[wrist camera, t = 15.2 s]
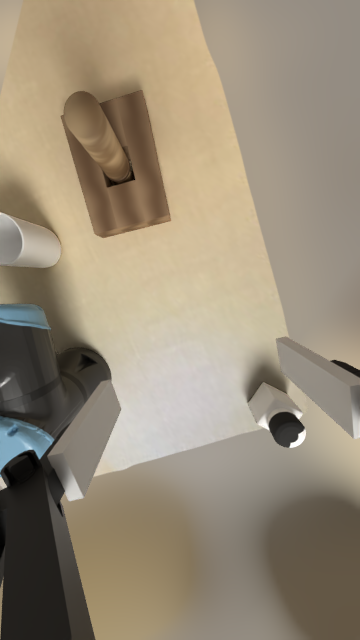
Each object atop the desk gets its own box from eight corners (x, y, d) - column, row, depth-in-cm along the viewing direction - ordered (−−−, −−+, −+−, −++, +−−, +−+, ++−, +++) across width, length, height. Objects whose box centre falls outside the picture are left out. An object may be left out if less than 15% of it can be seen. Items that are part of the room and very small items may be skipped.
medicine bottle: (247, 403, 50) (264, 442, 38) (262, 380, 48) (286, 414, 36) (271, 416, 50) (296, 458, 38) (287, 394, 49) (319, 431, 37)
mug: (15, 213, 43) (-42, 193, 32) (67, 237, 43) (29, 224, 33) (6, 252, 44) (-50, 244, 34) (57, 274, 45) (17, 273, 35)
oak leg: (116, 194, 41) (70, 142, 25) (109, 167, 40) (58, 97, 24) (138, 187, 41) (107, 131, 25) (132, 161, 40) (95, 85, 24)
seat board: (103, 238, 43) (94, 234, 39) (73, 132, 39) (60, 115, 35) (170, 220, 42) (169, 214, 38) (147, 109, 38) (142, 89, 34)
